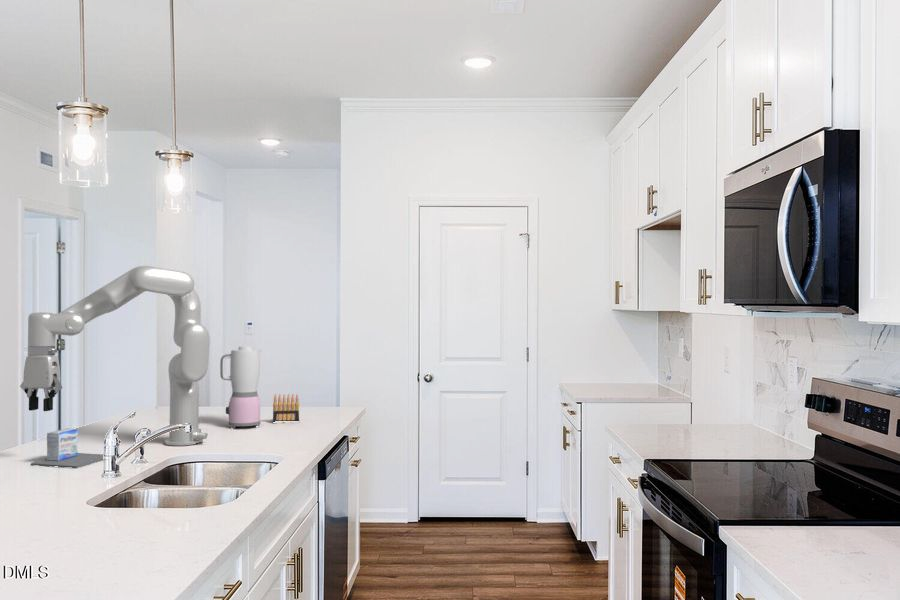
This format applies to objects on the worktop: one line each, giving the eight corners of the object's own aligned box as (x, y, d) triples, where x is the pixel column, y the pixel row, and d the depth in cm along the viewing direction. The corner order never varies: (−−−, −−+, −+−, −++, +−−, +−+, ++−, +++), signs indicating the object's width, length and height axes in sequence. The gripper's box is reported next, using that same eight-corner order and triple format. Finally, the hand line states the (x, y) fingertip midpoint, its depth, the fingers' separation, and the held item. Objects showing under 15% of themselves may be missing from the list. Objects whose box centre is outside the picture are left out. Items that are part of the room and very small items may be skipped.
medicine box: (58, 461, 212) (59, 432, 212) (46, 460, 213) (46, 432, 213) (77, 456, 220) (78, 428, 220) (65, 455, 221) (66, 427, 221)
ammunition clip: (299, 422, 291) (299, 393, 291) (299, 422, 289) (299, 394, 289) (272, 422, 289) (273, 393, 289) (272, 423, 287) (272, 394, 287)
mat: (113, 457, 222) (113, 455, 222) (76, 468, 206) (76, 466, 206) (70, 454, 225) (70, 452, 225) (30, 465, 209) (30, 463, 209)
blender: (258, 423, 287) (259, 345, 287) (262, 428, 275) (263, 347, 276) (218, 425, 280) (219, 346, 281) (220, 430, 269) (221, 347, 270)
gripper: (73, 351, 220) (73, 409, 220) (28, 350, 224) (27, 407, 224) (55, 353, 213) (54, 413, 213) (8, 352, 216) (8, 410, 216)
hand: (40, 409), depth 218 cm, fingers open, 4 cm apart
